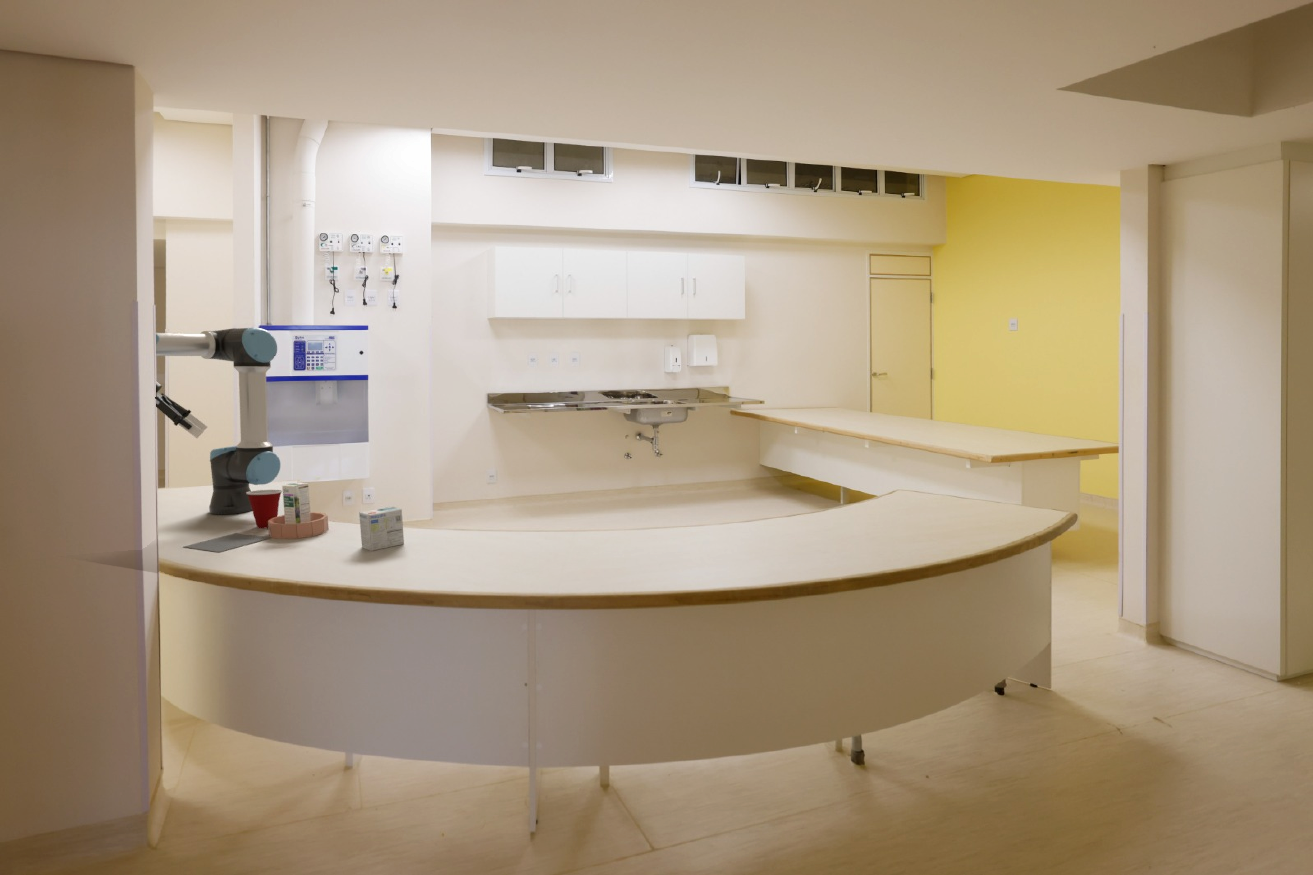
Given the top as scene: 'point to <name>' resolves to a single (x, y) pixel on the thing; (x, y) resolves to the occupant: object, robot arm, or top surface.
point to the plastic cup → (264, 505)
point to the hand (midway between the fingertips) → (202, 432)
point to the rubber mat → (227, 542)
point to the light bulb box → (381, 528)
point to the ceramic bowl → (298, 527)
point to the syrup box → (296, 503)
